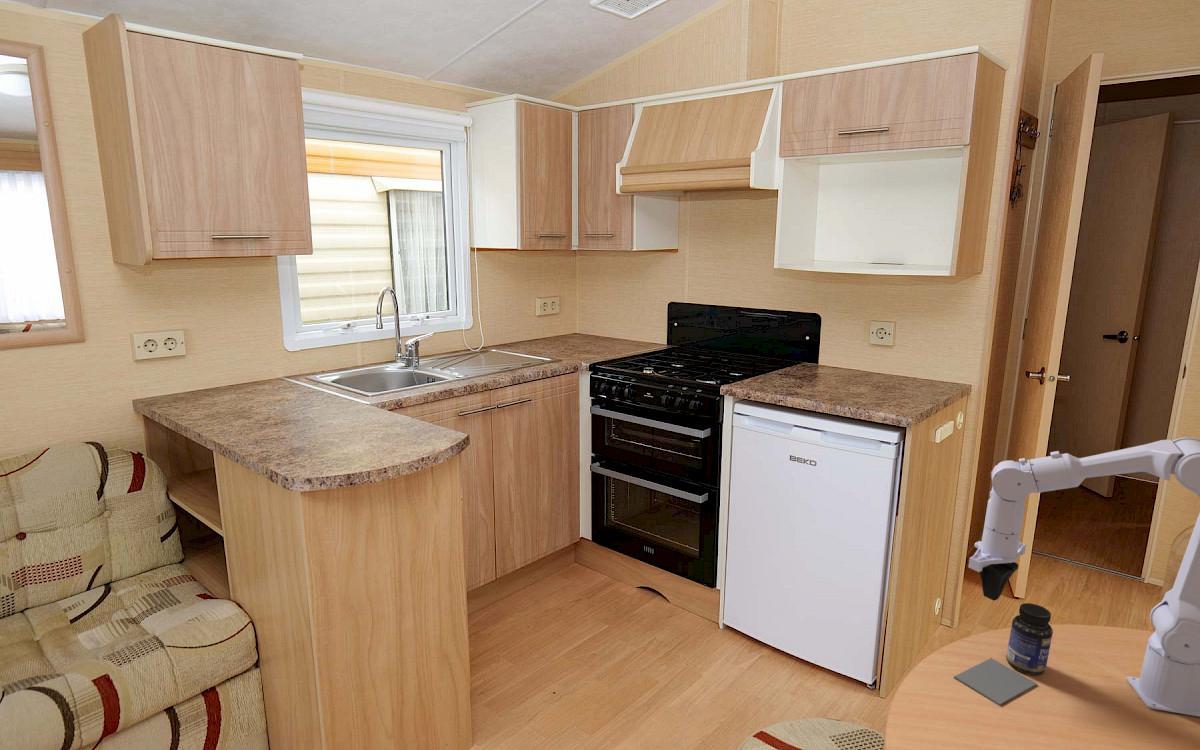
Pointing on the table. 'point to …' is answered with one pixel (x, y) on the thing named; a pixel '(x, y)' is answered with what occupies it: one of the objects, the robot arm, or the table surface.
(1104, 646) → the table surface
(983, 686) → the rubber mat
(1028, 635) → the pill bottle
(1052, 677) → the table surface
